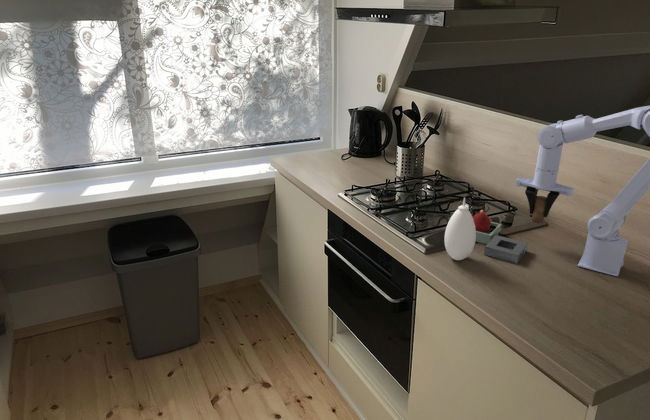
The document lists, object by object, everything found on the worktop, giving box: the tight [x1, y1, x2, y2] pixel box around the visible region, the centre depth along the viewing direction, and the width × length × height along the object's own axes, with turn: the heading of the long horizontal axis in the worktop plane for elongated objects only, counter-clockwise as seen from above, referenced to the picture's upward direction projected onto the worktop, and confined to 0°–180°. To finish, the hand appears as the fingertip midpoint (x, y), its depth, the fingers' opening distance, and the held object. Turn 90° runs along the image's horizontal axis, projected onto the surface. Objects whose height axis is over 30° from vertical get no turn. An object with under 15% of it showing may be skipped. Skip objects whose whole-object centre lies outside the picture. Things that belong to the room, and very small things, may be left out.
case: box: [475, 221, 502, 245], centre depth 152 cm, size 10×10×3 cm
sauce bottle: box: [444, 197, 476, 261], centre depth 135 cm, size 8×8×18 cm
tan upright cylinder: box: [531, 195, 547, 224], centre depth 143 cm, size 3×3×7 cm
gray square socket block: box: [483, 235, 529, 265], centre depth 142 cm, size 9×9×2 cm
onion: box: [472, 209, 492, 233], centre depth 151 cm, size 6×6×8 cm
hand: (538, 214), depth 143 cm, fingers closed on tan upright cylinder, 3 cm apart
